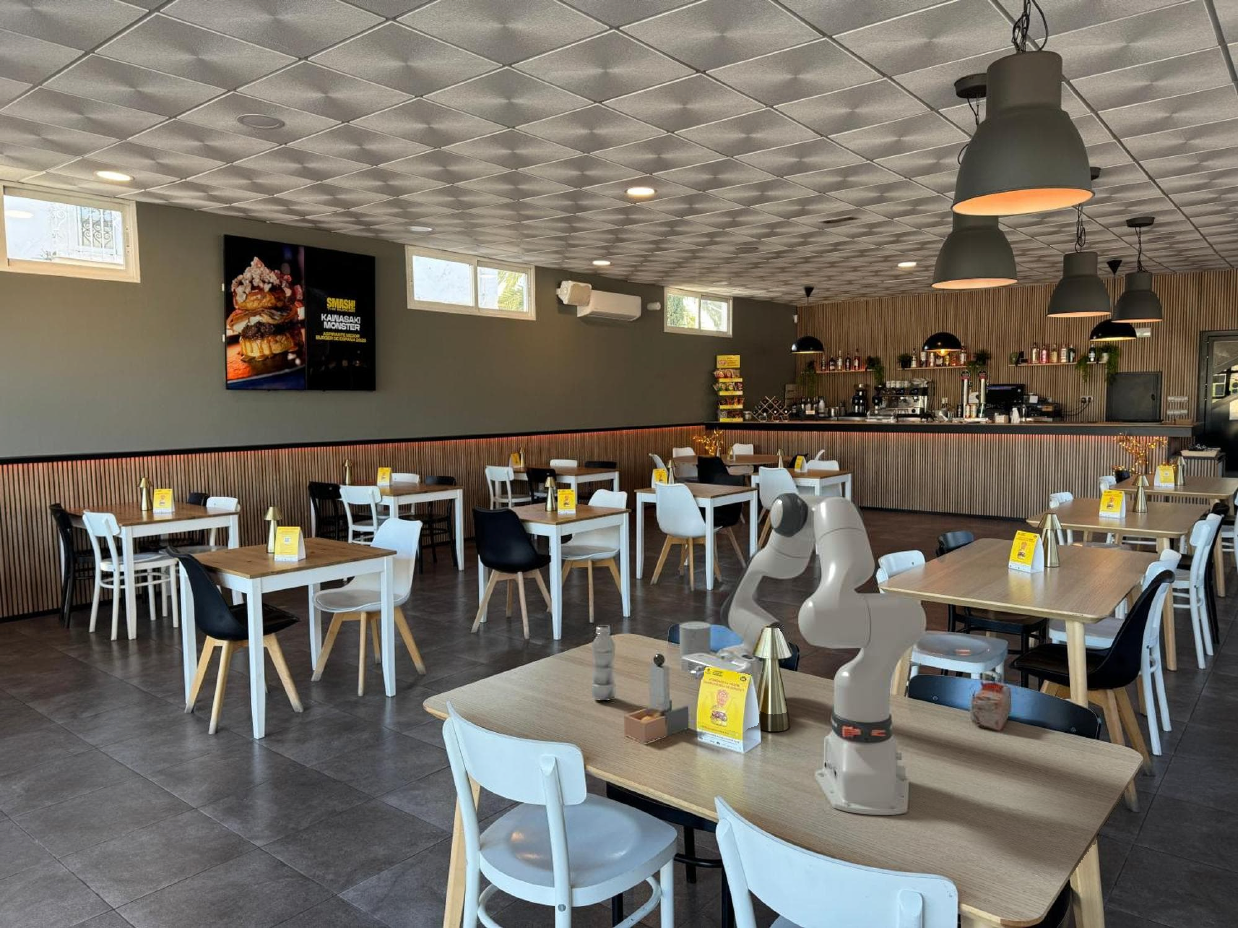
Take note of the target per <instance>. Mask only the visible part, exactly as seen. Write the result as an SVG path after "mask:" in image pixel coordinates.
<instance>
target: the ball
mask: <svg viewBox="0 0 1238 928" xmlns="http://www.w3.org/2000/svg"><path fill="white" fill-rule="evenodd" d="M650 720H653V718H652V717H648V716H647V717H644V718H643V719H642V720H641V721H643V722H647V721H650Z"/></svg>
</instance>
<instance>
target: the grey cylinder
mask: <svg viewBox="0 0 1238 928" xmlns="http://www.w3.org/2000/svg"><path fill="white" fill-rule="evenodd" d="M695 653H705V654H709V655H711V624H710V623H708V622H705V621H695V620H694V621H693V620H692V621H690V620H689V621H684V622H681V623H679V663H680V662H681V658H682V657H683V656H685V655H690V654H695Z"/></svg>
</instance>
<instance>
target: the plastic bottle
mask: <svg viewBox="0 0 1238 928" xmlns="http://www.w3.org/2000/svg"><path fill="white" fill-rule="evenodd" d="M595 627H596V628H595V629H596V630H595V634H596V636H595V638H594V639H593V641H592V643H591V653H592V661H593V679H592V680H593V682H592V686H591V694H592V697H593V699H594V698H596V699H600V700H607V699H612V698H615V697H616V693H617V687H616V682H615V673H614V672H615V671H614V666H615V653H616V643H615V641H614V639H613V638H612V637H611V636H610V634H611V627H610V625H606V624H599V625H597V626H595ZM612 700H613V699H612Z"/></svg>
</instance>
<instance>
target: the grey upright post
mask: <svg viewBox="0 0 1238 928" xmlns="http://www.w3.org/2000/svg"><path fill="white" fill-rule="evenodd" d="M652 661H653V662H651V663H649V665H648V684H649V685H648V688H649V689H648V691H649V705H647V707H648V714H647V717H652V718H653V719H656V718H659V717H662V716H664V713H665V712H668V711H669V708H670V700H671V698H670V696H671V694H670V693H671V692H670V691H671V690H670V689H671V688H670V683H671V682H670V666H668V665H665V661H666V659H665V655H663V654H662V653H656V654H655V655H654V656H653V658H652Z"/></svg>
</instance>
